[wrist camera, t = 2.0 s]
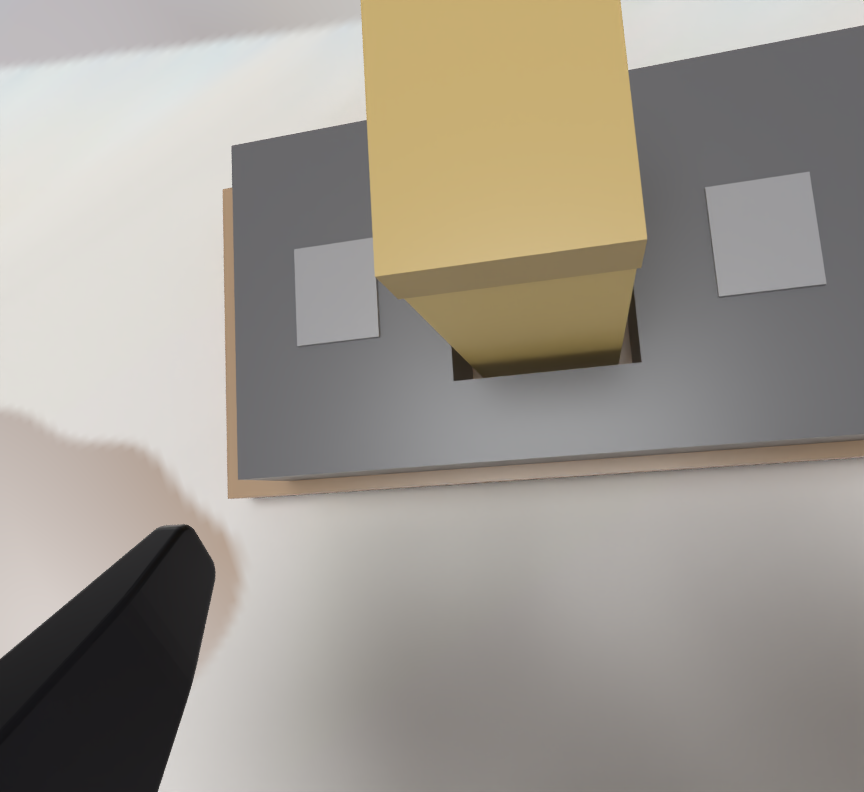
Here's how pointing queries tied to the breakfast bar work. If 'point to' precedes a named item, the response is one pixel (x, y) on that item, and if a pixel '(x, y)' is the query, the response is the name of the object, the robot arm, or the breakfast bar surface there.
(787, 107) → the panel
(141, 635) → the robot arm
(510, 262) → the plug
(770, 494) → the breakfast bar surface
